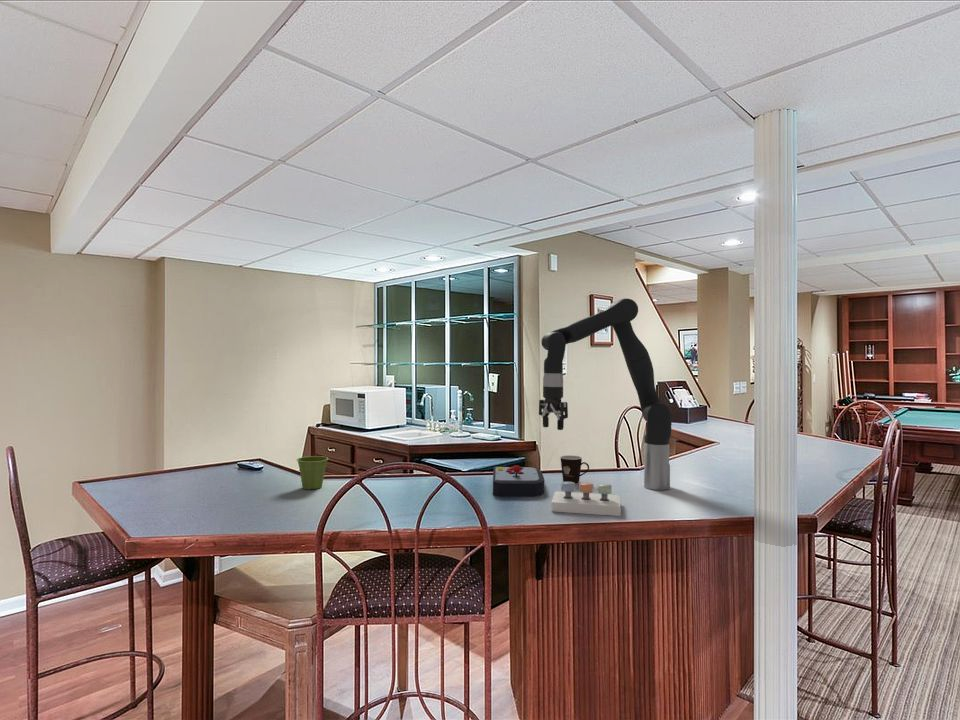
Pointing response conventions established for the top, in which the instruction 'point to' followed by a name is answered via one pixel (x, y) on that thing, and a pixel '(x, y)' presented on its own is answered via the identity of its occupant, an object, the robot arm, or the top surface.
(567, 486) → the slate button
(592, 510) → the console
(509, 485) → the arcade joystick
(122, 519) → the top surface
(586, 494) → the terracotta button
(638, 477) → the top surface
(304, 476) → the plant pot
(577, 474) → the coffee mug
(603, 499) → the sage button
